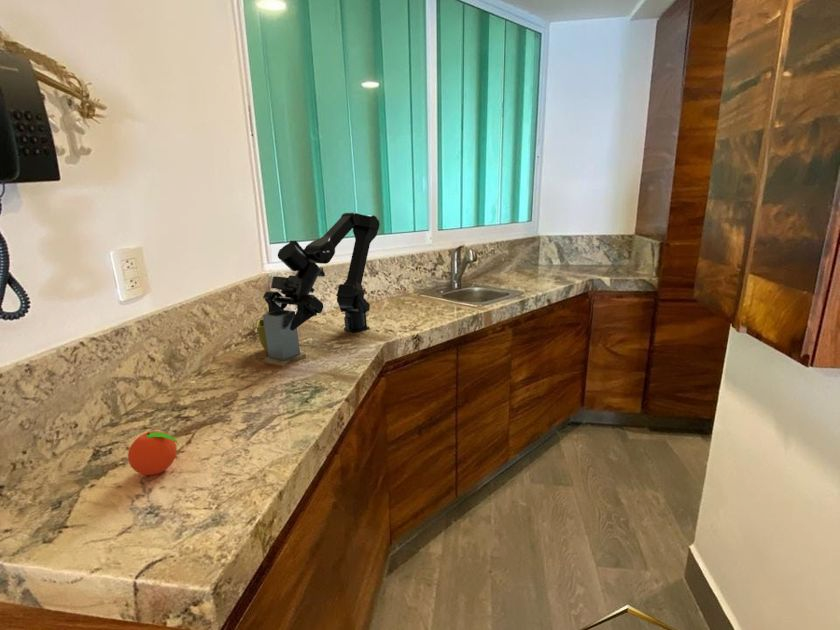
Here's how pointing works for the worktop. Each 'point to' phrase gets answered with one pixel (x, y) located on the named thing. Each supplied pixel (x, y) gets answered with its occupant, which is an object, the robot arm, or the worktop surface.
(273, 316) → the open square box
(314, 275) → the robot arm
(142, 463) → the clementine
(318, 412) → the worktop surface
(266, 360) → the tan piece
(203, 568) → the worktop surface
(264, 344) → the flower pot
